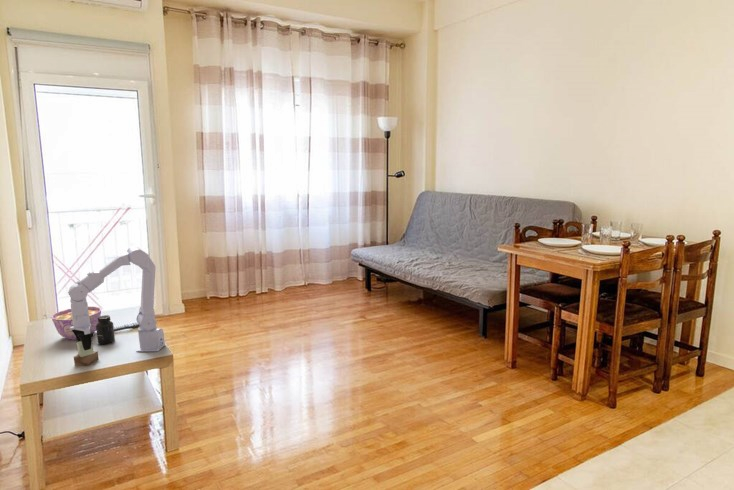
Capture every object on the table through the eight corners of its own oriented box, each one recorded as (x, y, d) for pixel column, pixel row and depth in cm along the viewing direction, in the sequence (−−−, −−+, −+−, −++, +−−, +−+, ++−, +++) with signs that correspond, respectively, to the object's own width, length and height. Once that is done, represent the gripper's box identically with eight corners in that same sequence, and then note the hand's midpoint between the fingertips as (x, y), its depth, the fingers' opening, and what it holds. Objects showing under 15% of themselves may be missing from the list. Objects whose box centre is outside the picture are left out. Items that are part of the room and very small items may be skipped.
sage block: (90, 350, 197) (88, 339, 196) (93, 353, 194) (91, 341, 193) (78, 354, 194) (76, 342, 193) (81, 357, 191) (79, 345, 190)
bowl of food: (65, 348, 211) (62, 322, 209) (47, 338, 223) (43, 314, 221) (112, 334, 226) (109, 310, 224) (92, 326, 238) (89, 303, 236)
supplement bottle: (96, 346, 212) (92, 320, 210) (100, 340, 219) (97, 315, 217) (113, 344, 214) (110, 318, 212) (116, 338, 220) (113, 313, 218)
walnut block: (98, 360, 197) (97, 351, 196) (88, 366, 191) (87, 357, 191) (85, 359, 198) (84, 350, 197) (74, 366, 192) (73, 356, 191)
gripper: (64, 313, 193) (68, 345, 196) (73, 321, 183) (78, 354, 186) (84, 309, 198) (88, 340, 201) (94, 316, 188) (98, 349, 190)
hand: (84, 347), depth 193 cm, fingers open, 7 cm apart
